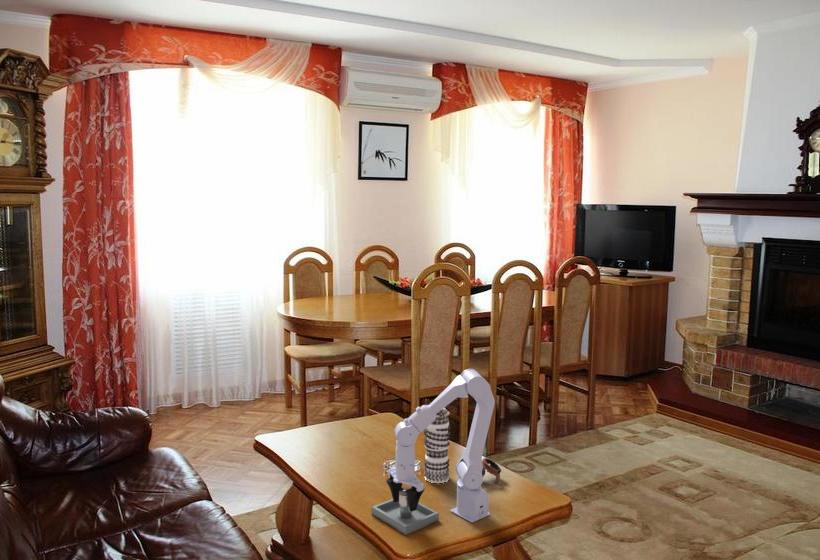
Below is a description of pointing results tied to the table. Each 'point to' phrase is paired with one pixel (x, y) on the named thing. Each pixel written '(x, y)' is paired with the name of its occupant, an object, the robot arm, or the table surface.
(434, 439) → the decorative candle
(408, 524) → the tray
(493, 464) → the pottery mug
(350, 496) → the table surface
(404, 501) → the shaker
